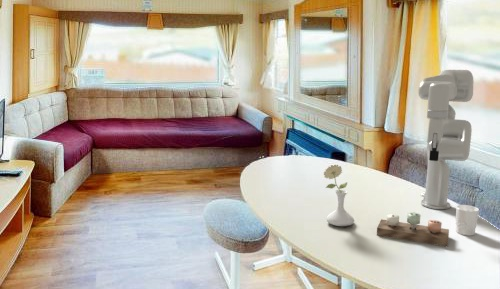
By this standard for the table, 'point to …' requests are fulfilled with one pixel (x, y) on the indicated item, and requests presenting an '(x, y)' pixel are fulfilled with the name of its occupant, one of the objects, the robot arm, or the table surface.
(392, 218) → the plunger
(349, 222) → the flower in vase
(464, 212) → the white cup
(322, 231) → the table surface
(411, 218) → the plunger
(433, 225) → the plunger
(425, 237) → the button board
